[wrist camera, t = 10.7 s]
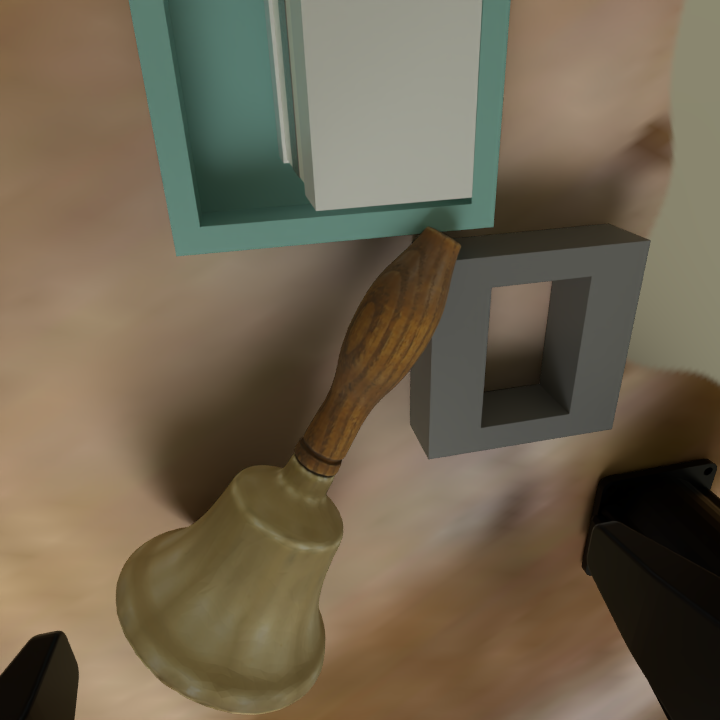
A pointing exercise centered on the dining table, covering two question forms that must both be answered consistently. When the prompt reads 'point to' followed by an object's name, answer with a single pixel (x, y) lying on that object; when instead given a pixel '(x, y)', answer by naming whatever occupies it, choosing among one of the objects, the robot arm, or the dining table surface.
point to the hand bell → (278, 523)
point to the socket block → (561, 348)
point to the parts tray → (273, 135)
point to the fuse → (376, 97)
